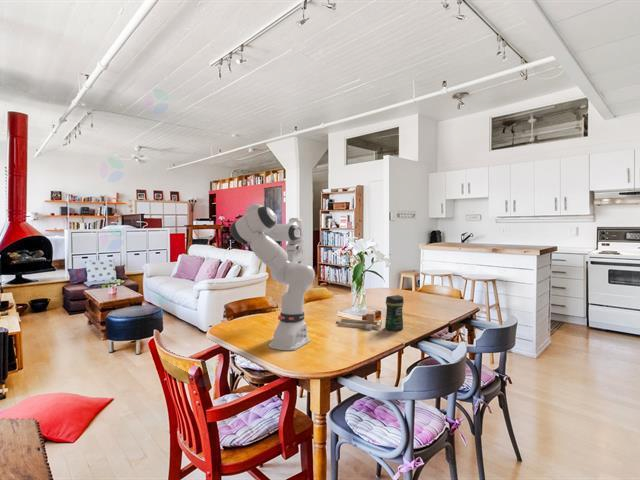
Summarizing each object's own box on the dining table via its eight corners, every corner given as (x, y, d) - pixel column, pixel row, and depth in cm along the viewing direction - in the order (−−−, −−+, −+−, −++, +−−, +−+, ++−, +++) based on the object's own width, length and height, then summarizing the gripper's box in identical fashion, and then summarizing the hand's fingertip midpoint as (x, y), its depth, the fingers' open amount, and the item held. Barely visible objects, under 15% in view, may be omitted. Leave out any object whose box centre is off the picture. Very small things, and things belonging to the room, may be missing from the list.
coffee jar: (392, 332, 193) (392, 298, 192) (382, 328, 200) (383, 295, 199) (405, 329, 198) (406, 296, 197) (396, 325, 205) (396, 293, 204)
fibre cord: (378, 326, 202) (378, 324, 202) (377, 327, 201) (377, 325, 201) (336, 323, 209) (336, 320, 209) (336, 323, 208) (336, 321, 208)
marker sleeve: (373, 327, 200) (373, 314, 199) (366, 327, 201) (366, 313, 200) (375, 325, 204) (375, 311, 204) (368, 324, 206) (368, 311, 205)
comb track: (378, 331, 195) (378, 325, 194) (336, 327, 202) (336, 321, 202) (382, 324, 207) (382, 319, 207) (342, 320, 215) (342, 315, 214)
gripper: (297, 244, 221) (297, 266, 222) (283, 247, 201) (284, 271, 202) (306, 244, 219) (306, 267, 220) (294, 247, 199) (294, 272, 200)
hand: (295, 269), depth 211 cm, fingers open, 8 cm apart
